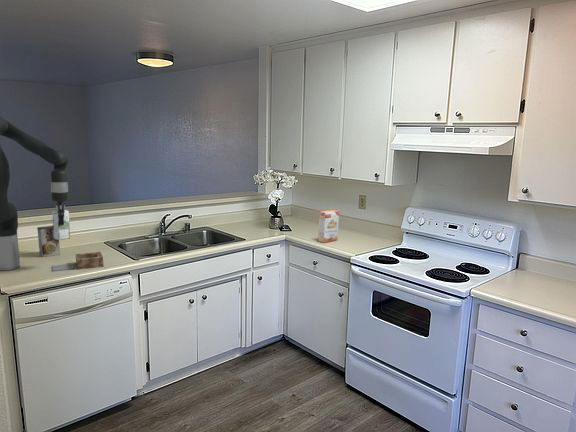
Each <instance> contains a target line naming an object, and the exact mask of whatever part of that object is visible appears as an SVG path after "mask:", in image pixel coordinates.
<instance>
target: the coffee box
mask: <svg viewBox="0 0 576 432" xmlns="http://www.w3.org/2000/svg"><path fill="white" fill-rule="evenodd" d="M36 229H37V239H38V249H39V256H41V257H42V258H47V257H52V256H58V255H59V256H60V255H61V249H60V240H57V239H54V232H53V225H47V226H39V227H36Z"/></svg>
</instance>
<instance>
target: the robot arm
mask: <svg viewBox="0 0 576 432" xmlns="http://www.w3.org/2000/svg"><path fill="white" fill-rule="evenodd" d="M1 136H2V137H5V138H8V139H10V140H12V141H14V142H16V143H17V144H19V145H20V146H21V147H22V148H23V149H25V150H27V151H29V152H30V153H32V154H35V155H36V156H39V157H40V158H41V159H43V160H44V161H46V162H47V163H49V164H51V165H53V169H52V170H51V172H50V194H51V195H50V196H51V197H50V199H51V201H52V202H56V203H55V208H56V209H55V210H57V213H58V218H59V225H64V213H65V210H66V209H65V208H66V205H65V203H64V202H67V201H69V184H68V169H69V163H70V158H69V155H68V153H67V152H66V151H64V150H62V149H61V150H60V149H59V150H58V149H57V150H56V149H54V148H52V147H50V145H49V144H47V143H46V142H44V141H42V140H40V139H39V138H37V137H34V136H33V135H31V134H29V133H26V132H25V131H23V130H22V129H20V128H18V127H17V126H15V125H13V124H12V123H11V122H10V121H8V120H7V119H5V118H4V117H2V116H0V137H1ZM10 179H11V170H10V164H9V161H8V158H7V156H6V154H5V152H4V151H3V149H2V145H1V143H0V271H13V270H17V269H19V268H20V267H21V261H20V249H19V239H18V227H19V221H18V220H19V215H18V209H17V208H16V206H15V205H14V204H13V203H11V202H9V201H8V200H9V199H8V189H9V185H10V181H11V180H10ZM59 213H62V214H63V215H59Z"/></svg>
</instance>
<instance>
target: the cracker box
mask: <svg viewBox="0 0 576 432" xmlns="http://www.w3.org/2000/svg"><path fill="white" fill-rule="evenodd" d="M339 219H340V211H339V210H336V209H332V210H324V211H319V219H318V221H319V222H318V240H317V242H319V243H322V244H325V243H331V242H330V241H332V242H336V240H337V241H338V240H339V239H338V238H339V237H338V235H339V225H340V223H339V222H340V220H339Z"/></svg>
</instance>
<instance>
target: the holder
mask: <svg viewBox="0 0 576 432" xmlns="http://www.w3.org/2000/svg"><path fill="white" fill-rule="evenodd" d="M75 264H76V268H77V270H85V269H94V268H103V267H104V256H103V254H102V252H101V251H94V252H85V253H76V254H75Z"/></svg>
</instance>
